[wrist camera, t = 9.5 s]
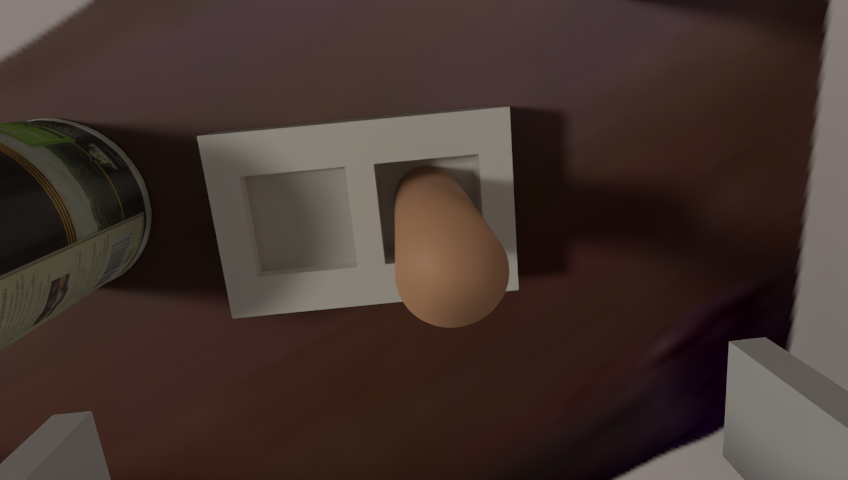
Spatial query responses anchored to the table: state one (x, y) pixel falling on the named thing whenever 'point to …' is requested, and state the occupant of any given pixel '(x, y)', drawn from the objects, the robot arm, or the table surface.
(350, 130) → the bore block
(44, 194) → the coffee can
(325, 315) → the table surface
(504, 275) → the pin
